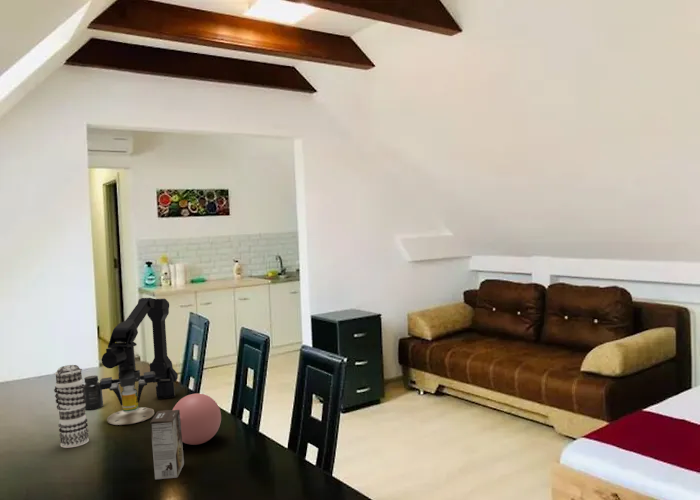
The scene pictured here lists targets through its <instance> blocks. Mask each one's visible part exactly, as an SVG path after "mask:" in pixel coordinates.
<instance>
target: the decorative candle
mask: <svg viewBox="0 0 700 500" xmlns="http://www.w3.org/2000/svg"><path fill="white" fill-rule="evenodd" d="M82 370H83V369H82V368H80V366H79V365H76V364H69V365H64V366H61V367H59V368H58V369H57V371H56V372H54V375H55V381H56V382H55V386H54V389H53V391H54V393H55V395H54V397H55V403H56V409H57V411H58V412H59V413H58V414H59V418H58V421H59V424H58V428H59V429H58V432H59V435H58V436H59V442H60V447H61V448H65V449H67V448H76V447H80V446H83V445H85V444H87V443H88V442H89V441H90V439H89V437H90V435H89V429H88V423H87V422H88V419H87V417H86V415H87V414H86V412H85V410H86V409H85V408H84V407H85V406H86V404H85V403H86V400H84V398H85V397H86V396H85V395H83V393H84V392H85V391H86V390H85V389H83V388H84V387H85V384H84V380H83V377H82Z"/></svg>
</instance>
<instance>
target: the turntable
mask: <svg viewBox="0 0 700 500" xmlns="http://www.w3.org/2000/svg"><path fill="white" fill-rule="evenodd" d="M154 416H155V410H154V409H153V408H151V407H150V408H149V407H138V410H137V411H135V412H131V413H125V412H123V409H122V410H119V411H117V412H116V411H115V412H113V413H111V414H110V415H108V416H107V418H106V422H107V423H108V424H110V425H115V426H118V425H119V426H122V425H133V424H136V423H140V422H144V421H146V420H149V419H151V418H153V417H154Z"/></svg>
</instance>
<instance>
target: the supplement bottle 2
mask: <svg viewBox="0 0 700 500" xmlns="http://www.w3.org/2000/svg"><path fill="white" fill-rule="evenodd" d="M135 386H136V385H133V386H125V387H122V389H123V390H121V397H122V405H121V406H122V407H121V408H122V410H123V412H125V413H131V412H135V411H137V410H138V408H139V403H138V389H136V388H135Z"/></svg>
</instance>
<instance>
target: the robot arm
mask: <svg viewBox="0 0 700 500" xmlns="http://www.w3.org/2000/svg"><path fill="white" fill-rule="evenodd" d="M169 310H170V302H169V301H168V300H167V299H166V298H152V297H141V298H139V299H138V301H137V304H136V305H135V307H134V308H133V309H132V310H131V313H130V314H129V315H128V317H127V318H125V320H124V321H122V322H120V323H118V324H117V325H116V326H115V327H114V328H113V330H112V332H111V336H110V338H109V340H108V345H107V348H106V349H105V351H106V352H104V354H103V355H102V356H101V364H102V365H103V366H104V367H105V368H107V369H114V368H115V367H118V378H115V379H113V377H112V376H110V377H102V378H101V379H100V381H99V383H100V390H102V391H103V390H107V389H108V390H109V391H113V393H114V394H115V395H116V397H117V400H118V402H119V404H120V406H122V396H121V393H122V391H121V389H120V387H121V388H123V387H125V386H133V385H135V384H136V382H138V385H137V396H138V404H139V403H140V401H141V396H142V392H143V390H144V387H145V386H148V384H149V383H153V384H154V383H156V385H155V393H156V397H157V399H158V400H162V399H169V398H175V397H176V393H175V384H174V382H175V383H176V382H177V380H178V376H179V374H178V373H177V372H176V370H175V369H174V367H173V362H172V360H171V359H170V357H169V356H168V348H167V345H168V344H167V332H166V331H167V330H166V319H167V317H168V315H169V313H170V311H169ZM146 315H147V316H148V318H149V319H150V321H151V324H152V326H151V327H152V341H153V354H154V355H153V356H154V357H153V360H152V362H150V363H149V371H146V372H145V371H144V372H143V375H141V371H140V369H138V370H137V368H136V367H137V366H136V359H135V358H136V357H135V347H136V346H137V343H136V342H135V340H136V337H138V333H139V332H138V330H139V329H138V327H139V326H140V325H141V323H142V322H143V320H144V319H145V317H146ZM135 386H136V385H135Z"/></svg>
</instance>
